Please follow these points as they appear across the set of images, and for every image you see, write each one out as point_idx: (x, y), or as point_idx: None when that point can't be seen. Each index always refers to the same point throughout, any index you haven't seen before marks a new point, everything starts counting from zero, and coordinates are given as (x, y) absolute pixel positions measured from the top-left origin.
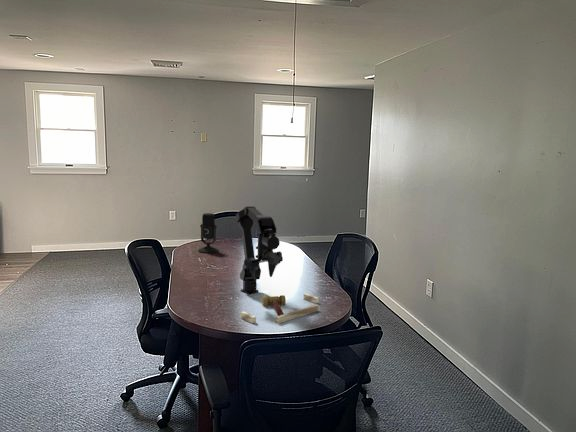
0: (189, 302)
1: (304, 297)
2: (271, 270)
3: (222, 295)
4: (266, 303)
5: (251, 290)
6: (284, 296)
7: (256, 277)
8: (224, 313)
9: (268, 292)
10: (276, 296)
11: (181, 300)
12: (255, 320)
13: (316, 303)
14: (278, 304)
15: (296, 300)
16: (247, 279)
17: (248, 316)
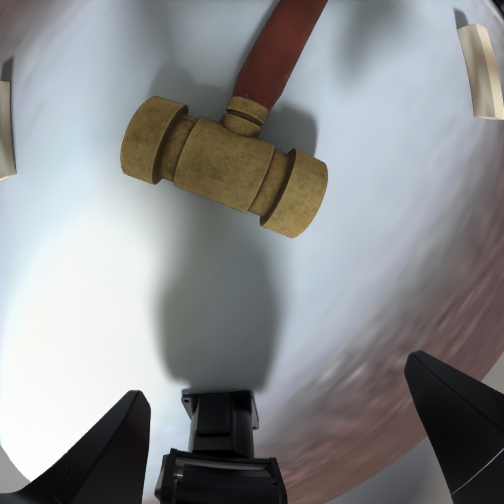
0: (470, 368)
1: (7, 168)
2: (114, 467)
3: (357, 405)
4: (305, 153)
5: (230, 403)
6: (135, 118)
7: (440, 370)
8: (495, 212)
9: (138, 365)
10: (195, 159)
11: None
12: (465, 28)
13: (7, 83)
14: (262, 48)
15: (49, 172)
16: (250, 461)
17: (492, 60)
